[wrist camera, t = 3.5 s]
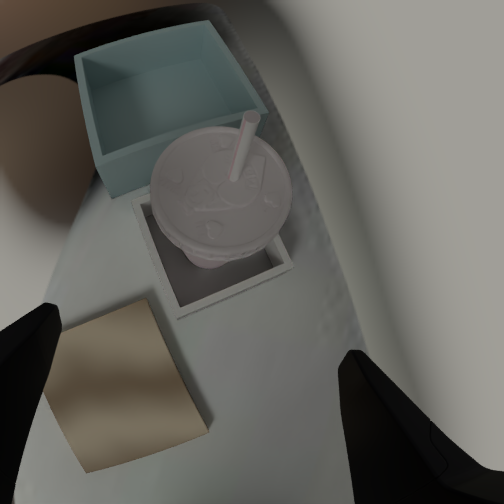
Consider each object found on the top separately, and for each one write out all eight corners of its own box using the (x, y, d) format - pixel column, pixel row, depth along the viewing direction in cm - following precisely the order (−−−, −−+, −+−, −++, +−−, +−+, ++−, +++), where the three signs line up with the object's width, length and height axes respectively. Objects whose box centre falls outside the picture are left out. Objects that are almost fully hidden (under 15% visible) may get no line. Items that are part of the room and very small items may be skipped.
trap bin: (254, 149, 25) (269, 112, 21) (111, 198, 22) (95, 166, 17) (203, 58, 27) (208, 20, 22) (85, 92, 24) (74, 55, 19)
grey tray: (283, 273, 23) (294, 267, 21) (177, 320, 21) (176, 318, 19) (237, 177, 24) (242, 161, 22) (136, 213, 22) (130, 200, 20)
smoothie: (270, 254, 23) (369, 158, 10) (198, 306, 22) (212, 266, 8) (219, 186, 24) (255, 41, 11) (146, 232, 22) (102, 105, 9)
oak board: (208, 429, 19) (209, 432, 19) (89, 469, 17) (86, 473, 16) (147, 299, 21) (145, 298, 20) (31, 346, 18) (26, 347, 17)
